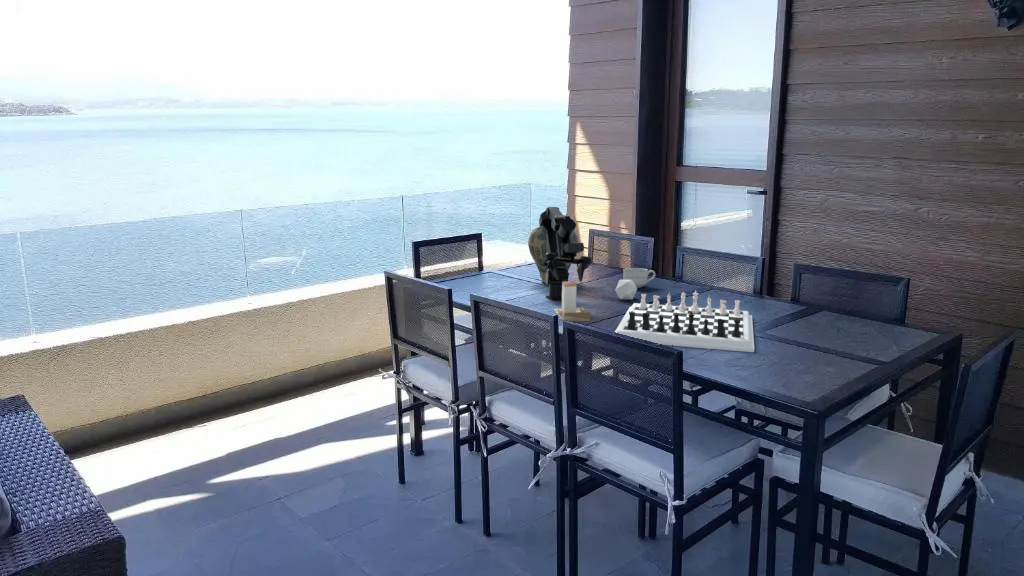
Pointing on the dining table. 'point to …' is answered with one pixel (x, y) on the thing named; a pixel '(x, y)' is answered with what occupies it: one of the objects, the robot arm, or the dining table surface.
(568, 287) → the block
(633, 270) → the teacup
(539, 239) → the vase
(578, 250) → the robot arm
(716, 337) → the chess set
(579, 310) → the tray
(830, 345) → the dining table surface
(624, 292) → the die
